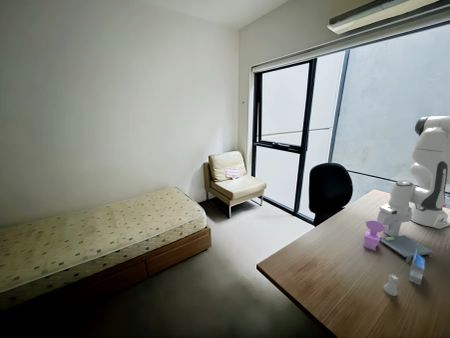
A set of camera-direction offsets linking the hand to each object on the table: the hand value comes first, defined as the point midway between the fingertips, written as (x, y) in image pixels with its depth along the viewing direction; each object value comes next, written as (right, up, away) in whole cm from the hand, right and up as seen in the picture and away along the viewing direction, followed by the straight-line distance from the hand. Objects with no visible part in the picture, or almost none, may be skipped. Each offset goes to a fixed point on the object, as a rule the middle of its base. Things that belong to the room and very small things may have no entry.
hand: (391, 228), depth 112 cm
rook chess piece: (-31, -16, -34) cm, 49 cm away
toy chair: (-19, -8, -7) cm, 22 cm away
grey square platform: (-3, -8, -11) cm, 14 cm away
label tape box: (-14, -14, -27) cm, 33 cm away
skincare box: (0, -5, +1) cm, 5 cm away
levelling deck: (-3, -6, -12) cm, 13 cm away
